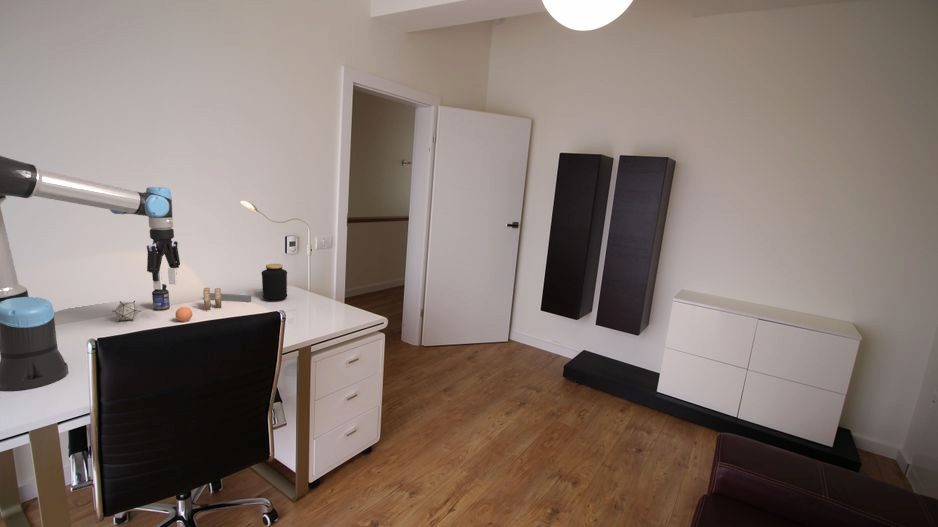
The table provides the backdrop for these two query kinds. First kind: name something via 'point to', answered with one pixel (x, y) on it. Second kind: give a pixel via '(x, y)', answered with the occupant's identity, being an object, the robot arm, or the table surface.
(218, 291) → the pin
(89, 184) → the robot arm
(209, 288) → the pin
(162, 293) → the pill bottle
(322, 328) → the table surface
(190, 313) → the ball
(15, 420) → the table surface
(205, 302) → the pin front
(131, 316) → the game die
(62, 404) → the table surface
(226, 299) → the back wall
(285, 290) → the container
